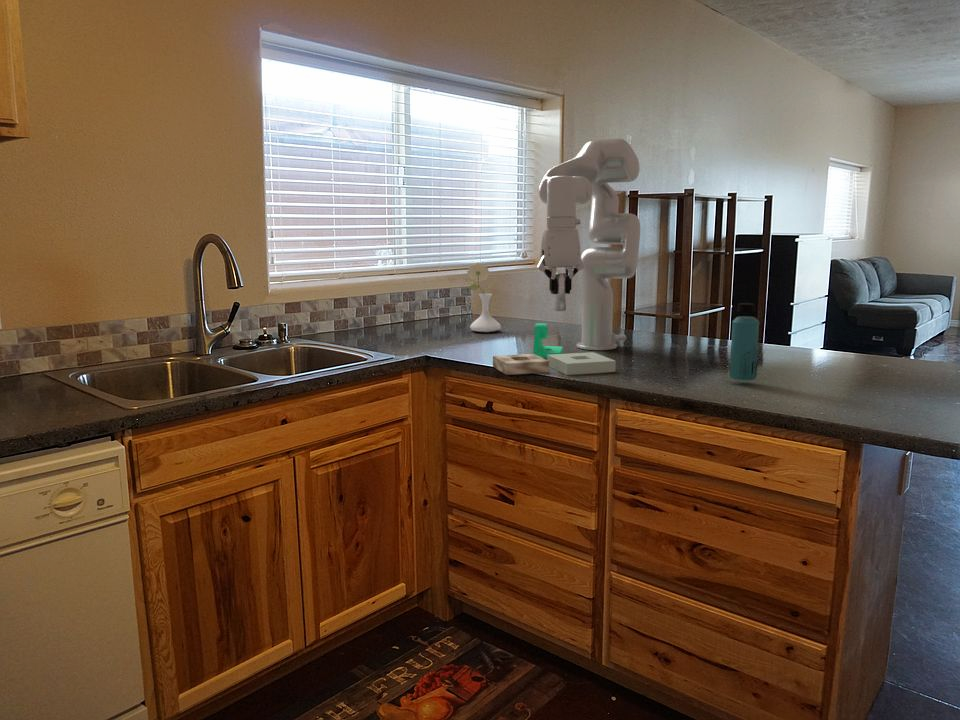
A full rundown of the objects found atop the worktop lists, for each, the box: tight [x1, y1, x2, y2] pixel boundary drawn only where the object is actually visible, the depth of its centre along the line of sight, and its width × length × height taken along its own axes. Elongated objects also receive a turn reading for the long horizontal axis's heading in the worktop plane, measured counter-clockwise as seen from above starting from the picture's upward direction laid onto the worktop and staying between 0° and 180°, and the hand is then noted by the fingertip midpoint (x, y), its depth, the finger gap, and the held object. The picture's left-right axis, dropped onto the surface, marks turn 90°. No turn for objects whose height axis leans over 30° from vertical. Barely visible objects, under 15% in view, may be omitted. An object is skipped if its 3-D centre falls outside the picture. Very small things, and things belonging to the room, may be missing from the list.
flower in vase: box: [466, 262, 502, 333], centre depth 271 cm, size 13×11×25 cm
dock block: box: [546, 351, 617, 376], centre depth 204 cm, size 14×14×3 cm
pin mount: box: [492, 353, 550, 376], centre depth 203 cm, size 12×12×3 cm
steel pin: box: [554, 272, 567, 312], centre depth 201 cm, size 3×3×10 cm
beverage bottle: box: [728, 302, 760, 381], centre depth 183 cm, size 6×7×20 cm
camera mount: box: [532, 322, 564, 360], centre depth 220 cm, size 12×8×10 cm, turn 169°
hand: (560, 292), depth 201 cm, fingers closed on steel pin, 3 cm apart
